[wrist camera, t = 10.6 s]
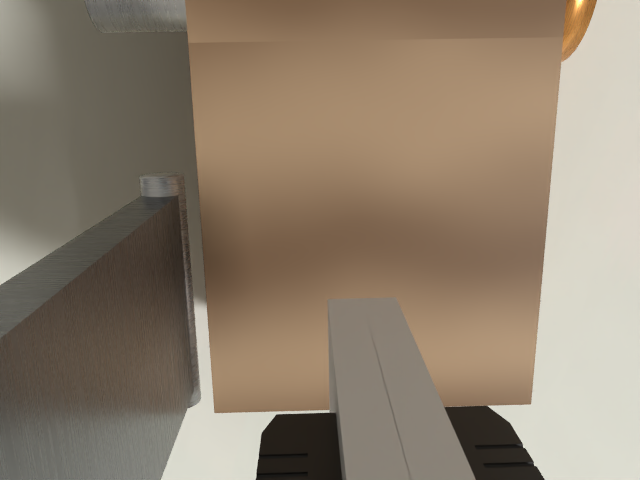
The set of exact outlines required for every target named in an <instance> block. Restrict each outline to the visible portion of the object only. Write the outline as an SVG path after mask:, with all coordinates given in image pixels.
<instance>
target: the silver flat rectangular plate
mask: <svg viewBox="0 0 640 480" xmlns="http://www.w3.org/2000/svg"><path fill="white" fill-rule="evenodd" d="M139 180H140V190H141V197H139V198H138V199H136V200H134V201H133V202H131V203H130V204H128V205H126V206H125V207H123V208H122V209H120V210H119V211H117V212H115V213H114V214H112V215H111V216H109V217H107V218H106V219H104V220H103V221H101V222H100V223H98V224H96V225H95V226H93V227H92V228H90V229H88V230H87V231H85V232H84V233H82V234H81V235H79V236H77V237H76V238H74V239H73V240H71V241H69V242H68V243H66V244H65V245H63V246H62V247H60V248H58V249H57V250H55V251H54V252H52V253H50V254H49V255H47V256H46V257H44V258H43V259H41V260H39V261H38V262H36V263H35V264H33V265H31V266H30V267H28V268H27V269H25V270H24V271H22V272H20V273H19V274H17V275H16V276H14V277H12V278H11V279H9V280H8V281H6V282H5V283H3V284H1V285H0V480H161V477H162V475H163V472H164V469H165V467H166V464H167V461H168V459H169V456H170V453H171V451H172V448H173V445H174V443H175V440H176V437H177V435H178V432H179V429H180V427H181V424H182V421H183V419H184V416H185V413H186V411H187V408H190V407H192V406H194V405H196V404H197V403H198V402H199V401H200V399H201V391H200V378H199V366H198V353H197V340H196V327H195V314H194V301H193V288H192V276H191V263H190V250H189V237H188V224H187V211H186V199H185V186H184V174H182V173H152V174H145V175H141V176H139Z"/></svg>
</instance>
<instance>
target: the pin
mask: <svg viewBox="0 0 640 480" xmlns="http://www.w3.org/2000/svg"><path fill="white" fill-rule="evenodd" d="M596 1H597V0H567V1H566V12H565V23H564V35H563V46H562V57H561V62H562V61H564V60H566V59H567V58H568V57H569V56H570V55H571V54H572V53H573V52H574V51H575V49H576V48H577V47H578V45H579V44H580V42H581V40H582V38H583V36H584V34H585V32H586V30H587V28H588V26H589V23H590V20H591V18H592V15H593V12H594V8H595V5H596ZM85 4H86V7H87V10H88V13H89V16H90V18H91V20H92V22H93V24H94V26H95V27H96V28H97V30H99V31H100V32H165V31H187V21H186V7H185V0H85Z"/></svg>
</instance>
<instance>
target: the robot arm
mask: <svg viewBox="0 0 640 480" xmlns="http://www.w3.org/2000/svg"><path fill="white" fill-rule="evenodd" d="M328 349H329V405H330V413H310V414H278V415H276V416H275V417H274V418H273V420H272V421H271V422H270V423H269V425H268V426H267V427H266V428H265V430H264V431H263V432H262V435H261V443H260V451H259V459H258V466H257V478H256V480H544V478H543V476H542V475H541V473H540V471H539V470H538V468H537V467H536V466H534V462H533V460H532V458H531V457H530V455H529V454H528V452H527V450H526V449H525V448H523V444H522V442H521V440H520V439H519V437H518V436H517V434H516V432H515V431H514V429H513V427H512V426H511V424H510V423H509V422H508V421H506V420H505V419H504V418H502V417H501V416H500V415H498V414H497V413H496V412H494V411H493V410H492V409H490V408H489V407H488V406H463V407H444V406H443V403H442V401H441V399H440V397H439V394H438V392H437V390H436V387H435V385H434V383H433V381H432V378H431V376H430V374H429V371H428V369H427V367H426V365H425V362H424V360H423V358H422V355H421V353H420V351H419V349H418V346H417V344H416V342H415V340H414V337H413V335H412V333H411V330H410V328H409V326H408V324H407V321H406V319H405V317H404V314H403V312H402V310H401V308H400V305H399V303H398V301H397V298H396V297H390V298H354V299H328Z"/></svg>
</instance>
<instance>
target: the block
mask: <svg viewBox="0 0 640 480" xmlns="http://www.w3.org/2000/svg"><path fill="white" fill-rule="evenodd" d="M566 1H567V0H185V7H186V21H187V35H188V49H189V63H190V77H191V91H192V104H193V118H194V132H195V146H196V160H197V174H198V188H199V202H200V216H201V230H202V244H203V258H204V272H205V286H206V300H207V314H208V328H209V342H210V356H211V370H212V384H213V398H214V412H215V413H232V412H269V411H305V410H330V405H329V349H328V299H354V298H390V297H396V298H397V301H398V303H399V305H400V308H401V310H402V312H403V314H404V317H405V319H406V321H407V324H408V326H409V328H410V330H411V333H412V335H413V337H414V340H415V342H416V344H417V346H418V349H419V351H420V353H421V355H422V358H423V360H424V362H425V365H426V367H427V369H428V371H429V374H430V376H431V378H432V381H433V383H434V385H435V387H436V390H437V392H438V394H439V397H440V399H441V401H442V403H443V406H444V407H451V406H488V405H524V404H531V397H532V386H533V375H534V363H535V352H536V341H537V329H538V318H539V307H540V295H541V284H542V273H543V261H544V250H545V239H546V227H547V216H548V205H549V193H550V182H551V171H552V159H553V148H554V137H555V125H556V114H557V103H558V91H559V80H560V69H561V57H562V46H563V35H564V23H565V12H566Z"/></svg>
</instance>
